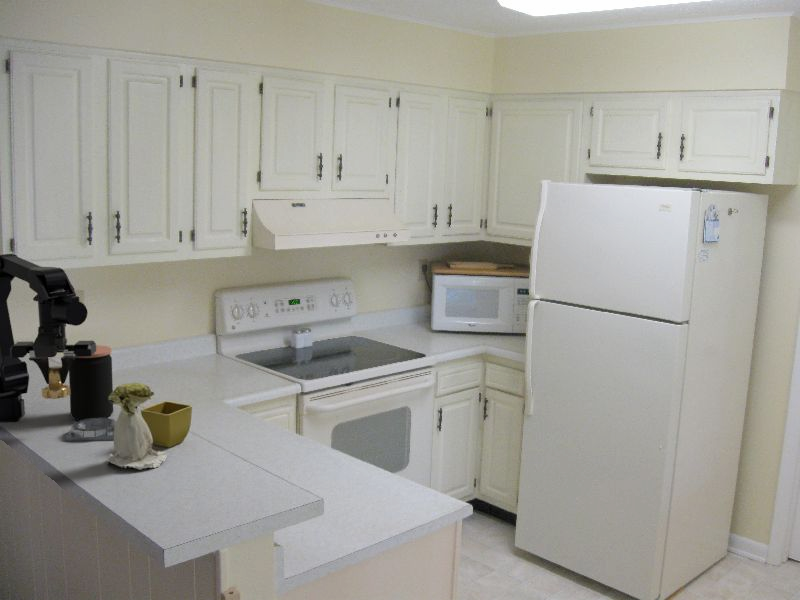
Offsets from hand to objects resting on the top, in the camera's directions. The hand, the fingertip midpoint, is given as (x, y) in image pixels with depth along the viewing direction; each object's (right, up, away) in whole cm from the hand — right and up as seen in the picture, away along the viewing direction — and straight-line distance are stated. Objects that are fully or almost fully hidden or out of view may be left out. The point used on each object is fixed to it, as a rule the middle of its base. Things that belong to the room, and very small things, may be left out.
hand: (55, 383), depth 208 cm
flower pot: (+28, -14, -3) cm, 32 cm away
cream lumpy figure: (+25, -17, -15) cm, 33 cm away
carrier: (+12, -13, +4) cm, 18 cm away
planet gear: (0, -3, 0) cm, 3 cm away
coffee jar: (+3, -11, +17) cm, 20 cm away
